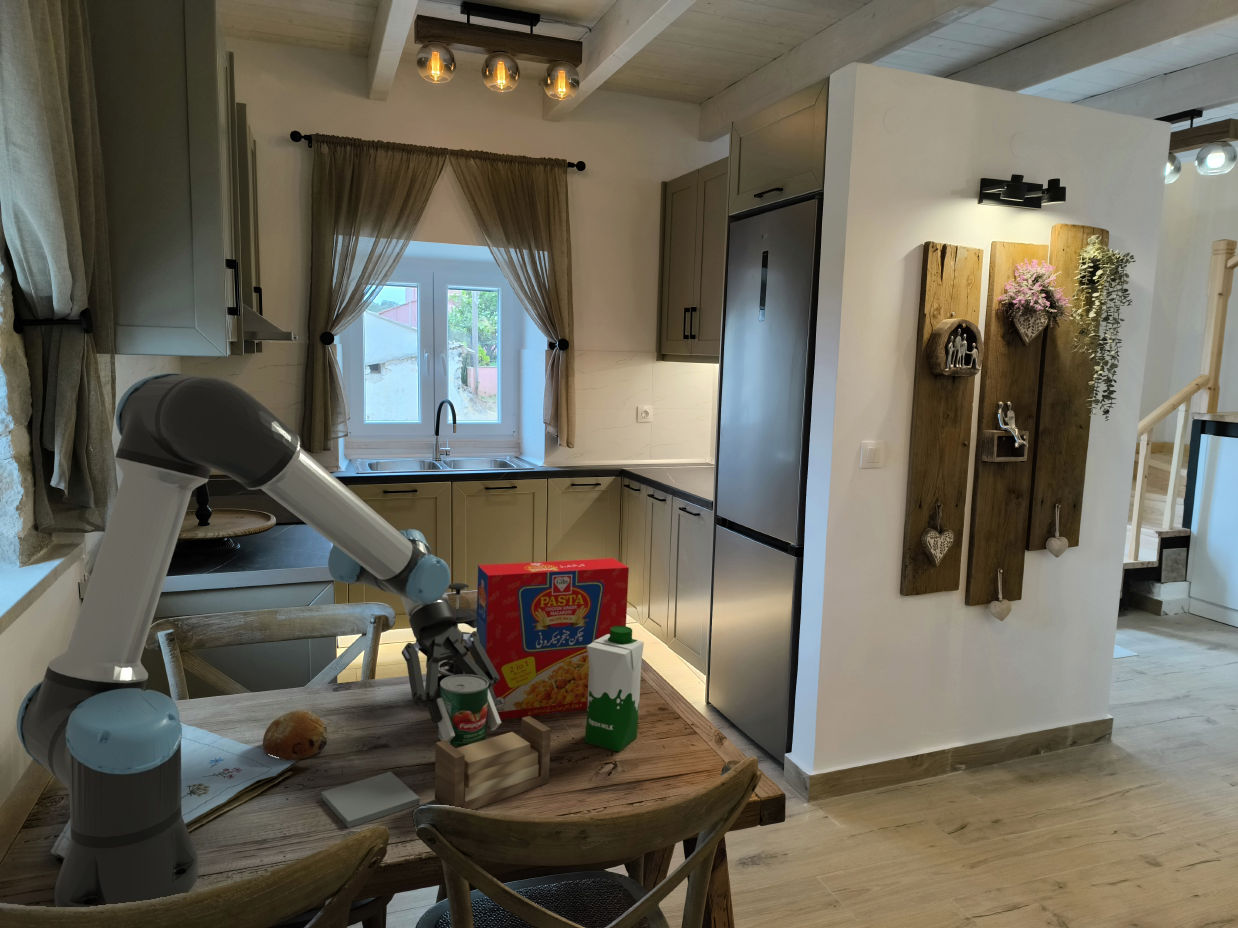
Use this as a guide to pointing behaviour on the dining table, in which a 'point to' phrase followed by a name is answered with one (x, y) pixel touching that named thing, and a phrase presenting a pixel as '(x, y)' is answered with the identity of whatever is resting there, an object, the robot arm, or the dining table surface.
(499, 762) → the offcut stack
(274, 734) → the bread roll
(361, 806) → the grey tile
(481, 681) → the canned tomato
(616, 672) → the milk carton
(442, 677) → the french press
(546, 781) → the walnut rack
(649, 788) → the dining table surface
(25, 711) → the robot arm
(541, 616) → the pasta box
